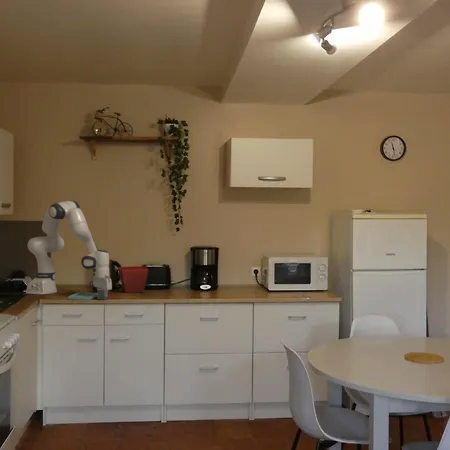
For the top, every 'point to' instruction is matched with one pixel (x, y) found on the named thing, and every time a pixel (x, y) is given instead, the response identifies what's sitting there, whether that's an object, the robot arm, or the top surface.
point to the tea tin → (101, 294)
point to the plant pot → (133, 278)
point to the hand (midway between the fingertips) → (102, 295)
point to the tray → (83, 296)
